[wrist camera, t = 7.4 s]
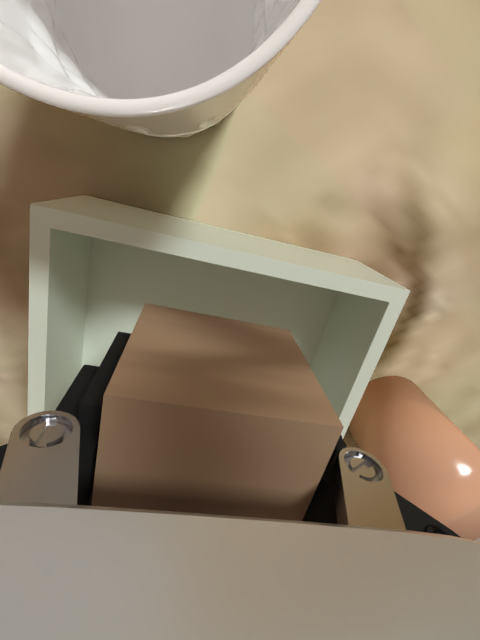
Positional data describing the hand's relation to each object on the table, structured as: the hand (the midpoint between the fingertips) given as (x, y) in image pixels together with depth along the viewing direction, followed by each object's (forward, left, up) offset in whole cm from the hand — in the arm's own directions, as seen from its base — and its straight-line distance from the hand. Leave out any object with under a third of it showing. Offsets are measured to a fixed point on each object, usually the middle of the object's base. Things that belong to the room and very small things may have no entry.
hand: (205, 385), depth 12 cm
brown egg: (-12, +4, -6) cm, 14 cm away
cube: (0, 0, 0) cm, 0 cm away
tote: (0, +4, -6) cm, 7 cm away
